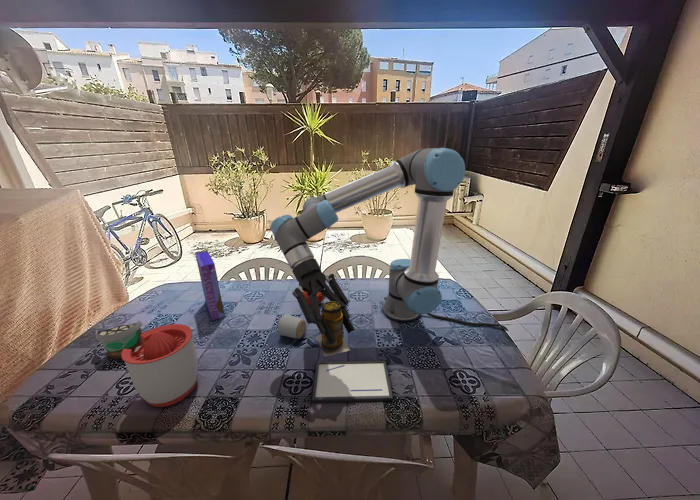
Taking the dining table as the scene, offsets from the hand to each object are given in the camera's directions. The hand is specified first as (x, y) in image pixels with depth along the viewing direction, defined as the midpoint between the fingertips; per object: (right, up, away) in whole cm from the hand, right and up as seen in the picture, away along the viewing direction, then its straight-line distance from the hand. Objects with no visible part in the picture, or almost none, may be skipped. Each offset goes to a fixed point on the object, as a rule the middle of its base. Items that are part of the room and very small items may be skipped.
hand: (342, 336), depth 73 cm
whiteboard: (+3, -15, +7) cm, 17 cm away
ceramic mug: (-19, -8, +29) cm, 35 cm away
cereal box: (-56, -2, +44) cm, 72 cm away
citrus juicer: (-49, -17, +5) cm, 52 cm away
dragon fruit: (-14, -1, +48) cm, 50 cm away
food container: (-74, -12, +18) cm, 77 cm away
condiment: (-3, -3, +4) cm, 6 cm away
